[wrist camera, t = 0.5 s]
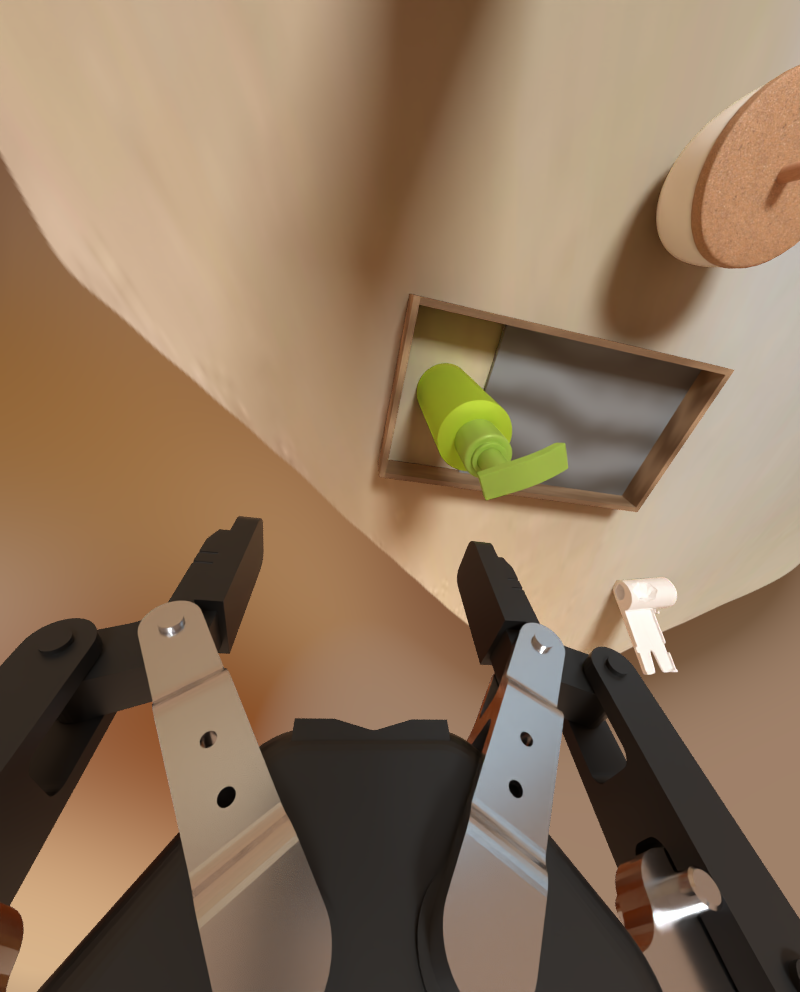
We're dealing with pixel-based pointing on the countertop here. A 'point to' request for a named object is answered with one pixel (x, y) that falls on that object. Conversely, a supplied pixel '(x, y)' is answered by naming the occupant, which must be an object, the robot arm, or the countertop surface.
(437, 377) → the soap dispenser
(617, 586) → the plastic part
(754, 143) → the lidded jar
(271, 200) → the countertop surface
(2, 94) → the countertop surface
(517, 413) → the wooden tray
